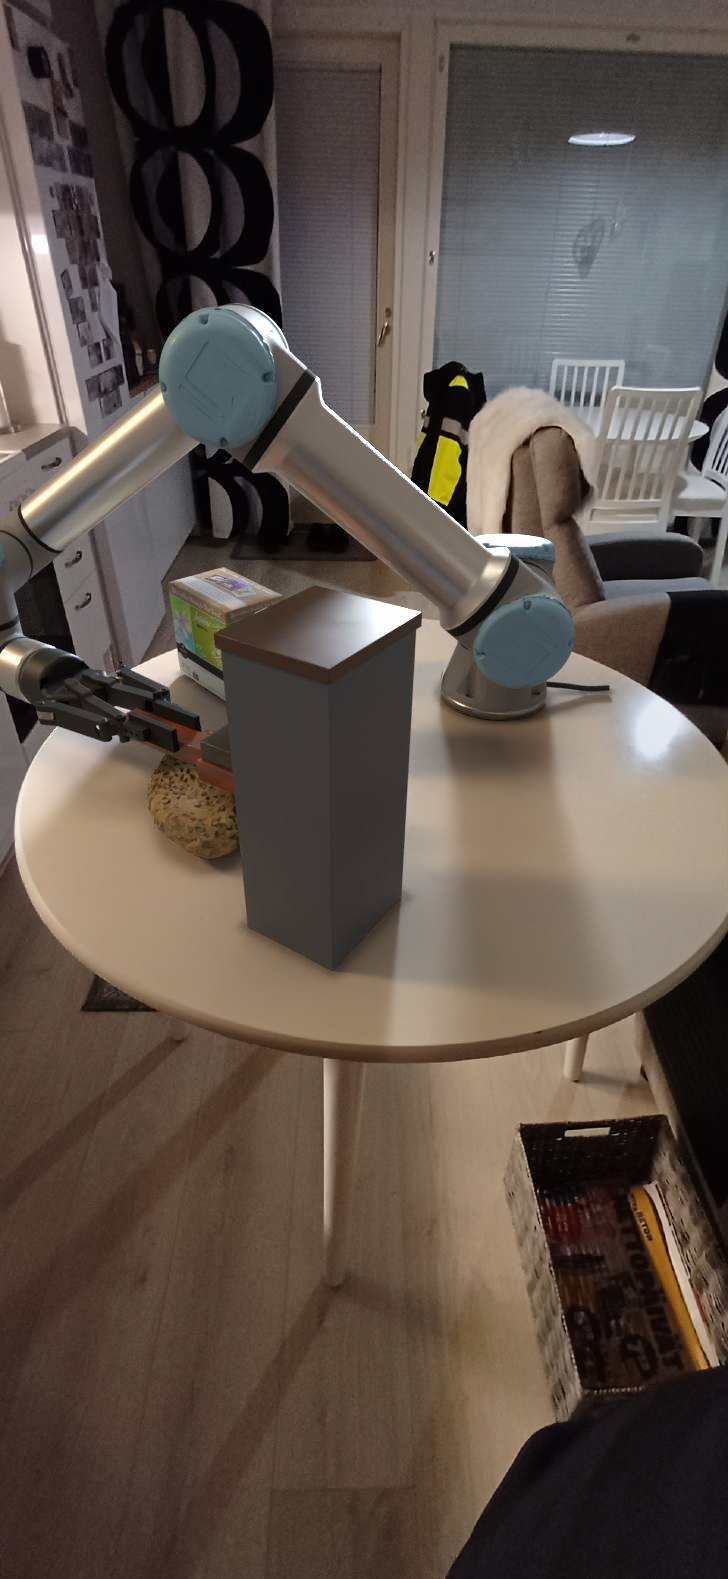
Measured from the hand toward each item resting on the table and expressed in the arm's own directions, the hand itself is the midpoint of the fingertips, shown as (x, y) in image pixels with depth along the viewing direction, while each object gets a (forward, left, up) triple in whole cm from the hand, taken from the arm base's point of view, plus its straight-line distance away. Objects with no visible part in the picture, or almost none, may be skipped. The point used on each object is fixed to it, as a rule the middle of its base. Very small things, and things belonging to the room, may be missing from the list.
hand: (186, 733), depth 84 cm
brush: (-1, +1, -3) cm, 3 cm away
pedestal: (-14, +18, -10) cm, 25 cm away
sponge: (-1, +1, -10) cm, 11 cm away
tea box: (-3, -33, -10) cm, 35 cm away
